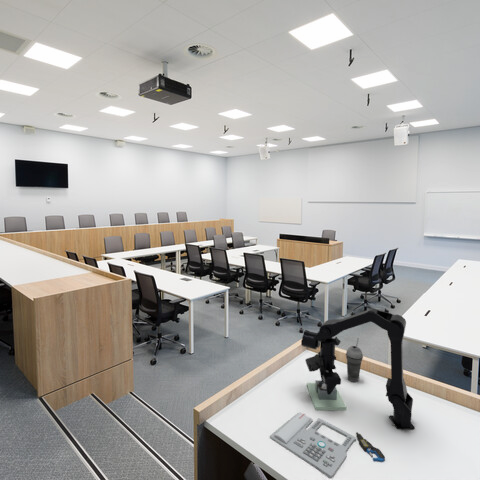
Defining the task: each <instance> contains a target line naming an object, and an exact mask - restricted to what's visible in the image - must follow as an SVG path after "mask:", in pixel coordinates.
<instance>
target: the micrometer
mask: <svg viewBox="0 0 480 480" xmlns="http://www.w3.org/2000/svg"><path fill="white" fill-rule="evenodd" d="M355 434H356V440H358V445H359V446H360V447H361V448H362V450H363V451H364V452H367V454H368V455H370V456H371V457H372V460H373V462H381V463H383V462H384V461H386V457H385V455H384V453H383V452H382V451H381V450H380V448H378V447H375V446H373V445H372V443H371V442H369V441H368V439H366V438H364V437H363V435H362V434H361V433H359V432H357V431H356V432H355ZM373 454H375V455H376V457H374V455H373Z"/></svg>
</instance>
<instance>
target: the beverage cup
mask: <svg viewBox="0 0 480 480" xmlns="http://www.w3.org/2000/svg"><path fill="white" fill-rule="evenodd" d="M358 344H359V338H357V339H356V343H355V345H351V346H349V347H347V349H346V353H345V358H346V369H347V372H346V373H347V380H348V381H349V382H351V383H357V382H359V378H360V373H361V372H360V371H361V365H362V361H363V358H364V354H363V351H362V349H361V348H360V347H359V346H358Z"/></svg>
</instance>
